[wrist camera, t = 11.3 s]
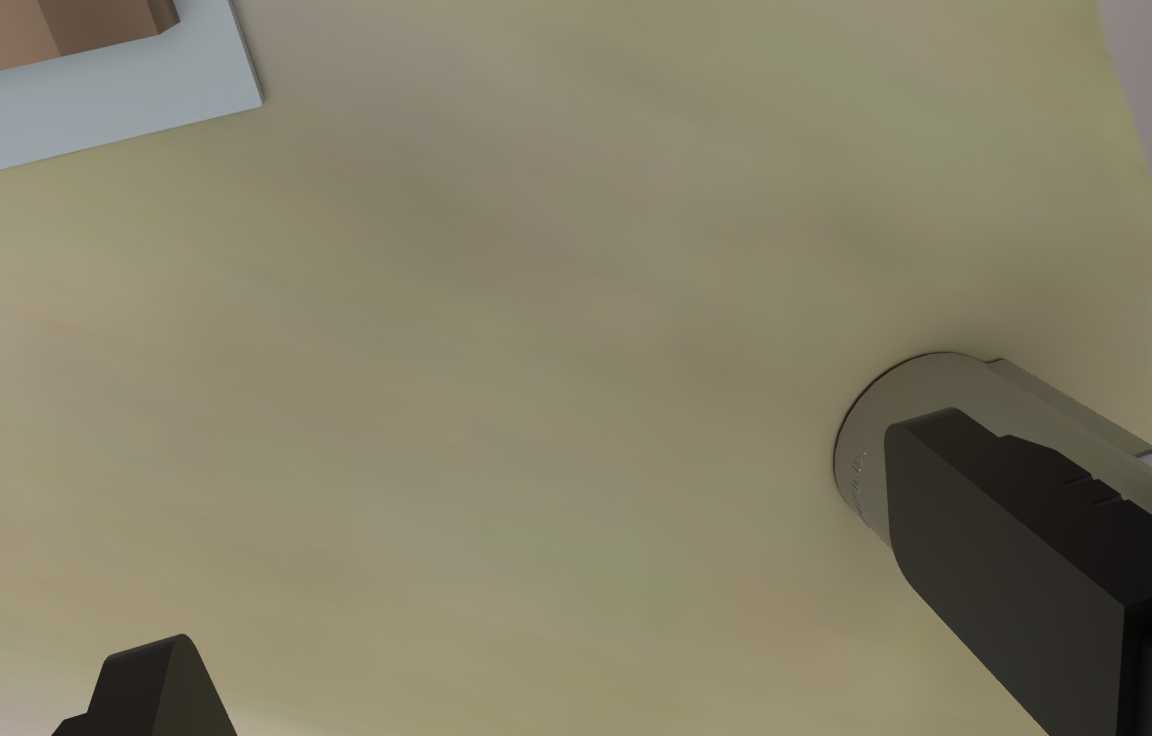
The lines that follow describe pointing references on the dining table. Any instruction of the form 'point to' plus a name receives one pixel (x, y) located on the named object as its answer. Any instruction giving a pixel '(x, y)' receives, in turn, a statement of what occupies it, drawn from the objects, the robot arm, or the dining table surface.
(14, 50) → the frame
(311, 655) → the dining table surface
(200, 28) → the peg board
